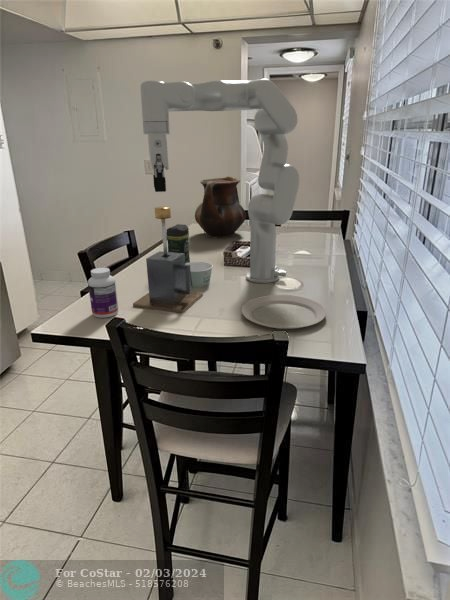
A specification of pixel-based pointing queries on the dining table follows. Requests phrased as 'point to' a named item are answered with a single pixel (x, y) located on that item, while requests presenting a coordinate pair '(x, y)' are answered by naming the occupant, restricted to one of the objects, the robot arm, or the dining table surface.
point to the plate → (288, 299)
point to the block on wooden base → (168, 284)
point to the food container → (200, 273)
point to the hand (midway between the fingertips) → (159, 189)
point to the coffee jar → (179, 240)
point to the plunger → (163, 223)
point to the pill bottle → (102, 293)
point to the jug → (220, 208)
